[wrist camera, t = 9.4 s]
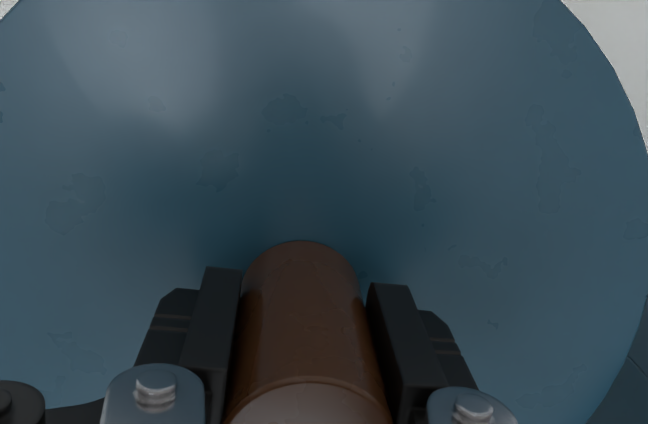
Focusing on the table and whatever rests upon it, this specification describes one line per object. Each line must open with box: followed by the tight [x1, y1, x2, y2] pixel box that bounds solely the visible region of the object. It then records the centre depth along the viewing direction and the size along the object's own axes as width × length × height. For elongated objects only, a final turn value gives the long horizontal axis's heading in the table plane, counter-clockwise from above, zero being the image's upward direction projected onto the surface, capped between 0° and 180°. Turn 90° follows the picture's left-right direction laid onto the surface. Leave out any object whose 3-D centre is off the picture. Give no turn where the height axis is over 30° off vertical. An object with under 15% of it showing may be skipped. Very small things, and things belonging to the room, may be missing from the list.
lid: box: [0, 0, 648, 424], centre depth 12 cm, size 16×16×6 cm
